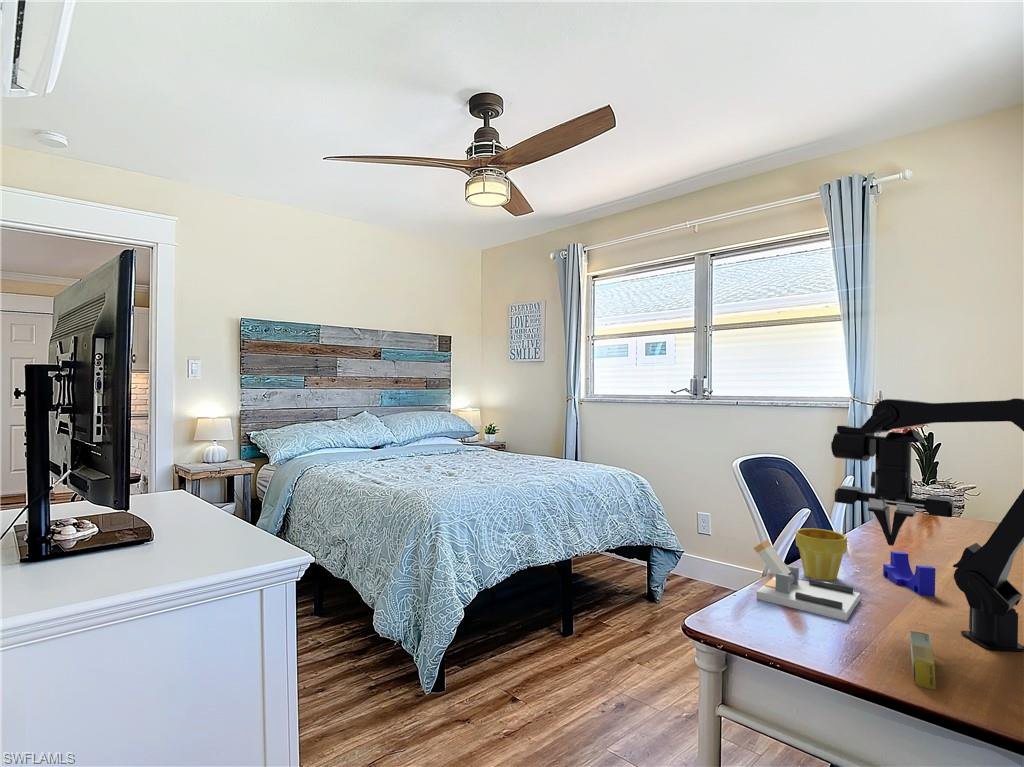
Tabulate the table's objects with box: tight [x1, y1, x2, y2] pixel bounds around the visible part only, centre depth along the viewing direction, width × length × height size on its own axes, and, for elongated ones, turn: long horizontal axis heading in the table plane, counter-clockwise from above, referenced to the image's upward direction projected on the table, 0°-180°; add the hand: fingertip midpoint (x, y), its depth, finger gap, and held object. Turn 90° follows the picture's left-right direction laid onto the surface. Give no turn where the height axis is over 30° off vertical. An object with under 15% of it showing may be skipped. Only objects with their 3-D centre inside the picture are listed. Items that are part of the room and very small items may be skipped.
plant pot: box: [795, 527, 848, 582], centre depth 132 cm, size 10×10×10 cm
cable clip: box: [882, 550, 936, 597], centre depth 127 cm, size 12×4×6 cm, turn 172°
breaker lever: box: [753, 539, 795, 584], centre depth 121 cm, size 2×5×9 cm
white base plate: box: [755, 564, 861, 622], centre depth 117 cm, size 16×14×5 cm
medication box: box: [909, 630, 936, 690], centre depth 88 cm, size 12×3×4 cm, turn 147°
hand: (891, 545), depth 111 cm, fingers closed
